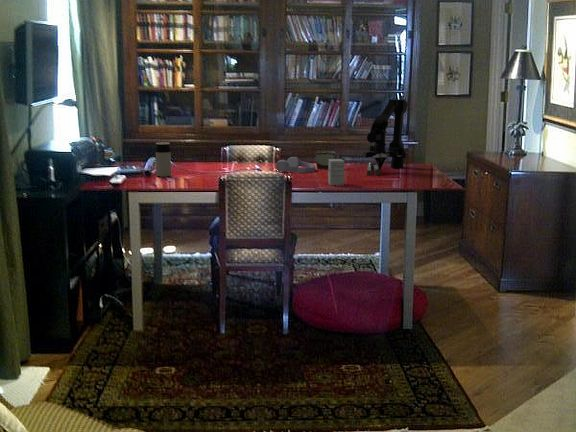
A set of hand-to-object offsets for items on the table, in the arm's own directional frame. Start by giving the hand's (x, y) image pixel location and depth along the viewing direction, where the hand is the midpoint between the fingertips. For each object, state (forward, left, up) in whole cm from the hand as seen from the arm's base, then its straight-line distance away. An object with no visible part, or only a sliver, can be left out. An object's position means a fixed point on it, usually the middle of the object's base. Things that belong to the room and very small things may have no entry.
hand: (379, 169), depth 448 cm
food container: (+21, -26, -2) cm, 34 cm away
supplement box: (+42, +27, -2) cm, 50 cm away
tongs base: (+3, -4, -2) cm, 5 cm away
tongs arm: (+2, -1, -1) cm, 2 cm away
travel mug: (+115, -34, -2) cm, 120 cm away
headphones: (+39, -26, -2) cm, 47 cm away
